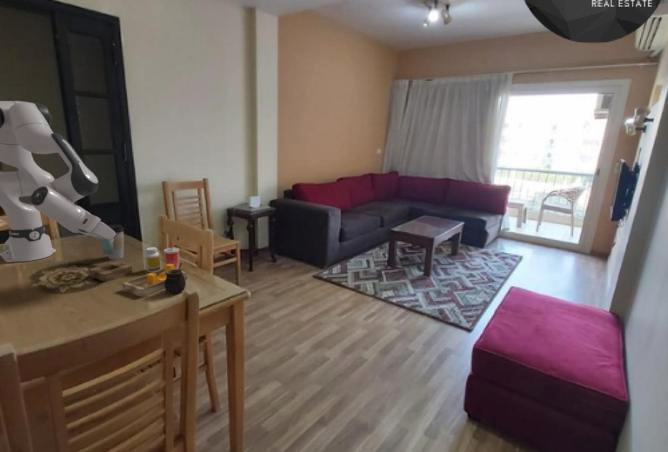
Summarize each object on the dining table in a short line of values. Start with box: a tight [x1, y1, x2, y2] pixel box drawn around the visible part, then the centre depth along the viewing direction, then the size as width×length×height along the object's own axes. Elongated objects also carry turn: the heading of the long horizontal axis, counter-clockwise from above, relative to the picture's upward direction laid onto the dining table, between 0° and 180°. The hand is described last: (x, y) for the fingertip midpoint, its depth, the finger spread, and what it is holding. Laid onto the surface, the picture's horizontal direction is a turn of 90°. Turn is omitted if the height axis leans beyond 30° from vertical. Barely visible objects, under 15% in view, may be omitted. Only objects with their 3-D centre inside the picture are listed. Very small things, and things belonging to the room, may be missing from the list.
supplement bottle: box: [144, 247, 161, 273], centre depth 148 cm, size 5×5×10 cm
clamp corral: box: [121, 267, 188, 298], centre depth 135 cm, size 11×19×3 cm, turn 153°
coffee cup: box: [106, 224, 125, 261], centre depth 161 cm, size 9×9×15 cm
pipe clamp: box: [146, 264, 175, 286], centre depth 135 cm, size 12×4×6 cm, turn 167°
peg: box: [100, 239, 114, 256], centre depth 139 cm, size 4×4×10 cm
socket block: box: [88, 261, 133, 283], centre depth 143 cm, size 11×11×3 cm
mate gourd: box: [164, 262, 187, 295], centre depth 130 cm, size 7×8×10 cm
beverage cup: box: [163, 238, 180, 269], centre depth 149 cm, size 6×6×14 cm
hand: (108, 239), depth 140 cm, fingers closed on peg, 4 cm apart
